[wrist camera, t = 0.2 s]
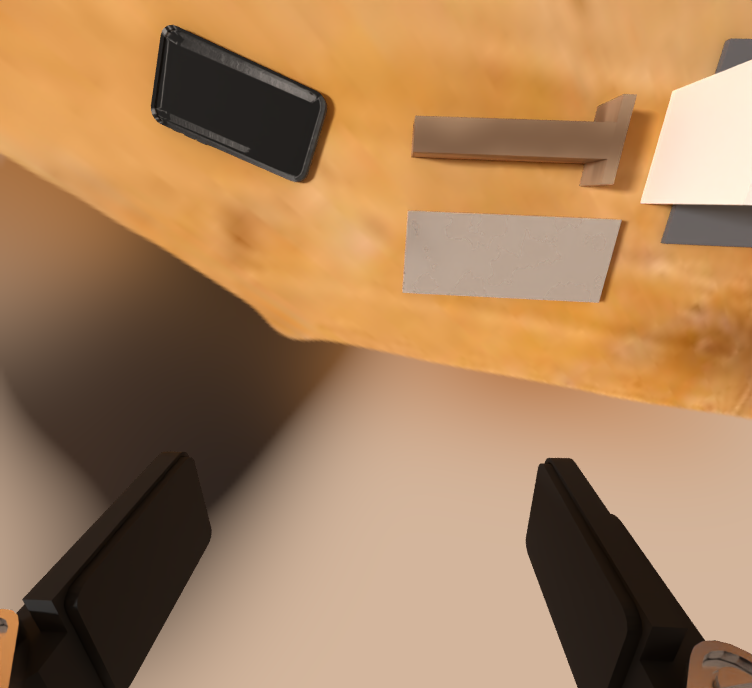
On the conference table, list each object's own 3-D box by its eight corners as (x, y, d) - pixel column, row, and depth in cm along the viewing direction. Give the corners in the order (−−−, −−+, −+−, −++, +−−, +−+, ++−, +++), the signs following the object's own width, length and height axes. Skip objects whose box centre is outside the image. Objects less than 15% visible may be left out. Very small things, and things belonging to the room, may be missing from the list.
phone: (162, 19, 30) (328, 96, 32) (170, 25, 32) (331, 100, 33) (148, 120, 33) (301, 186, 35) (156, 122, 34) (304, 187, 36)
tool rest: (407, 210, 36) (408, 210, 35) (614, 219, 35) (621, 219, 34) (402, 290, 39) (402, 292, 37) (592, 299, 38) (598, 302, 37)
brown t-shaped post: (414, 100, 32) (417, 87, 29) (608, 106, 32) (636, 94, 28) (409, 179, 35) (411, 176, 31) (589, 186, 34) (613, 184, 30)
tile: (672, 91, 31) (808, 37, 21) (696, 91, 31) (844, 38, 21) (640, 203, 34) (742, 204, 24) (661, 204, 34) (773, 206, 24)
